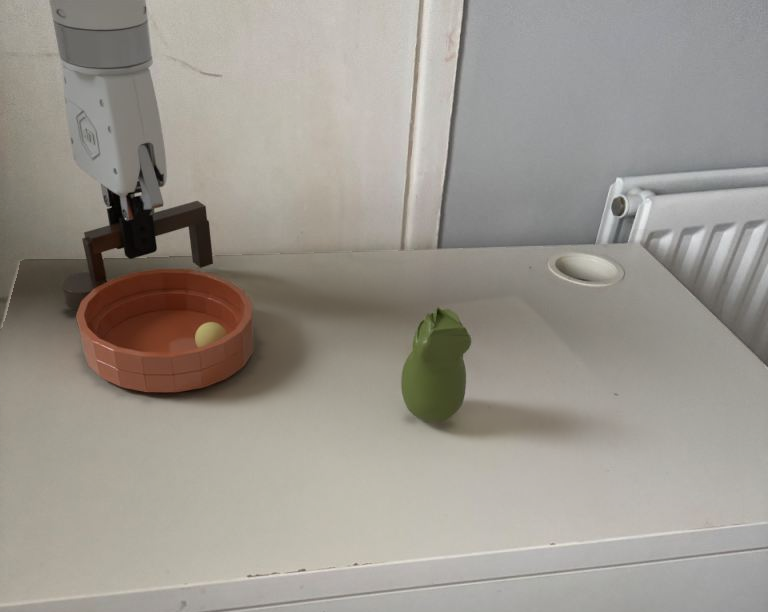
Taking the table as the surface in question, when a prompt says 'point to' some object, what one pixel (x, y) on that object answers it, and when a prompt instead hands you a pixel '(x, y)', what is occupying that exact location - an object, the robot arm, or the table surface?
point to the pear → (436, 367)
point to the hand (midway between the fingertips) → (135, 248)
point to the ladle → (111, 238)
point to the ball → (209, 333)
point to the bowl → (165, 329)
